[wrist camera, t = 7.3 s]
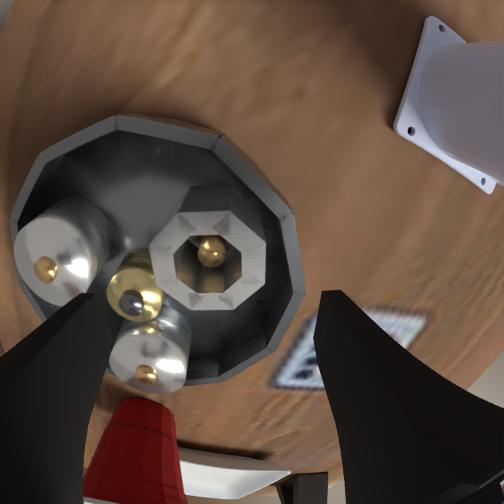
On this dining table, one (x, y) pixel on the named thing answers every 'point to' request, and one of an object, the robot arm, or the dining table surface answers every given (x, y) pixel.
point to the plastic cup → (136, 458)
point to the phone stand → (304, 489)
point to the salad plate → (225, 474)
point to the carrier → (137, 247)
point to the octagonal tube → (186, 253)
